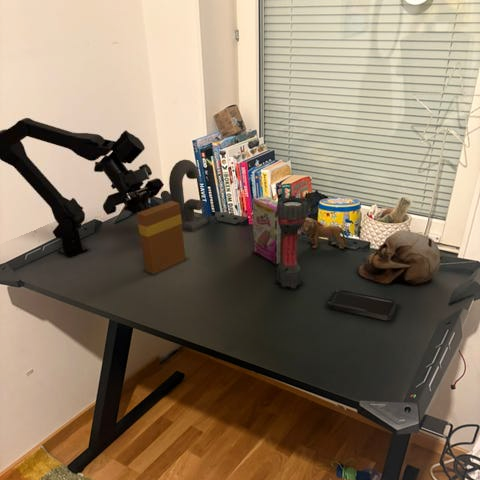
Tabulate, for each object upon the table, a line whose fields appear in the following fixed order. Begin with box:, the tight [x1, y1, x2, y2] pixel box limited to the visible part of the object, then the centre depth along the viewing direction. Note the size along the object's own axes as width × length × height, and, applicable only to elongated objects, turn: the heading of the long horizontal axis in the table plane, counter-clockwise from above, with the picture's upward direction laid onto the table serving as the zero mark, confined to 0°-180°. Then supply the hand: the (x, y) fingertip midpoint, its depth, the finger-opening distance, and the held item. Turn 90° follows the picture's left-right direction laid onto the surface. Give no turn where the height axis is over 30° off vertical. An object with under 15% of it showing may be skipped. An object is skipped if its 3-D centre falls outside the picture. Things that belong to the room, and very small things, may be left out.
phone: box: [327, 289, 397, 321], centre depth 116 cm, size 8×1×15 cm
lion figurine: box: [300, 217, 350, 250], centre depth 144 cm, size 15×5×9 cm, turn 87°
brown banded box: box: [136, 201, 186, 275], centre depth 135 cm, size 4×12×17 cm, turn 137°
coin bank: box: [358, 229, 441, 286], centre depth 125 cm, size 16×17×13 cm
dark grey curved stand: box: [160, 159, 208, 232], centre depth 164 cm, size 18×16×20 cm
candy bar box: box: [251, 195, 281, 265], centre depth 137 cm, size 11×5×16 cm, turn 35°
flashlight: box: [276, 194, 309, 290], centre depth 121 cm, size 8×8×23 cm
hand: (152, 220), depth 135 cm, fingers closed
